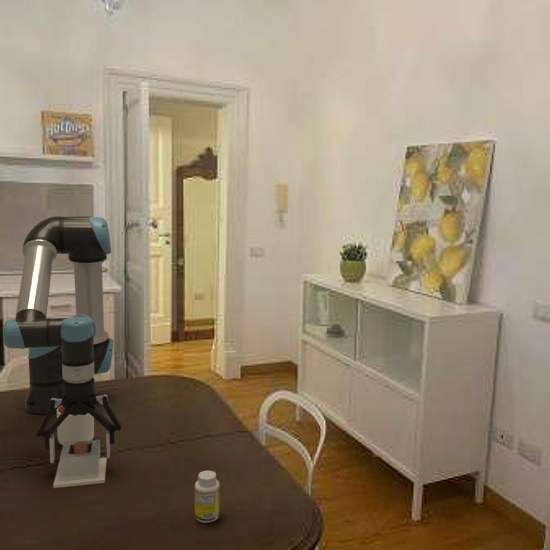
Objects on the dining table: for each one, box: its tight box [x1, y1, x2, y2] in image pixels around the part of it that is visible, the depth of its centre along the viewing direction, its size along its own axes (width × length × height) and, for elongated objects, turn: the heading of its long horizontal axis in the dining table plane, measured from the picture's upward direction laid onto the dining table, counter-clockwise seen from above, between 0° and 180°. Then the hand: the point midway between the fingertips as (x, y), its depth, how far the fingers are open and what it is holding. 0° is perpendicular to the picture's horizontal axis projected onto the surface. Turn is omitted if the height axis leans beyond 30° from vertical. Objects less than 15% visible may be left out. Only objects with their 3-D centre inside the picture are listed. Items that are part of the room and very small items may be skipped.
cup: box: [56, 406, 95, 446], centre depth 159 cm, size 10×10×10 cm
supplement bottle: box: [194, 470, 221, 524], centre depth 124 cm, size 6×6×10 cm
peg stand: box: [53, 441, 108, 489], centre depth 141 cm, size 12×12×8 cm
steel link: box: [59, 439, 101, 481], centre depth 141 cm, size 9×9×6 cm
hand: (80, 458), depth 141 cm, fingers open, 13 cm apart
